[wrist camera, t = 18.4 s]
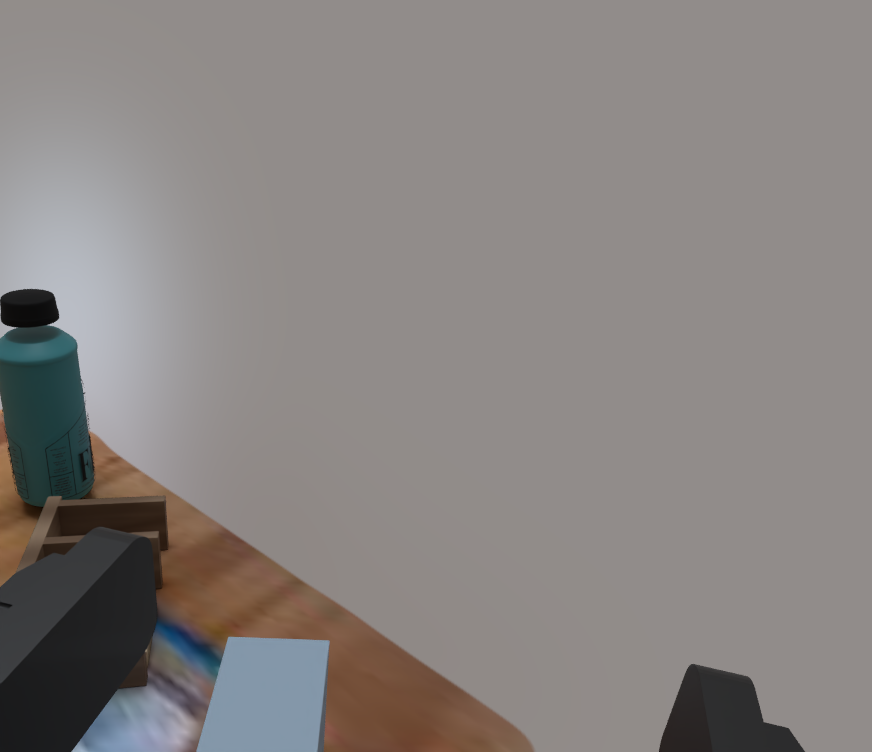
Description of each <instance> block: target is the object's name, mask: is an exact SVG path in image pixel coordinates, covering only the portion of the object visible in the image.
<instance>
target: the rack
mask: <svg viewBox="0 0 872 752" xmlns="http://www.w3.org/2000/svg"><path fill="white" fill-rule="evenodd" d="M97 527H104V528H109V529H113V530H117V531H122V532H126V533H131V534H135V535H139V536H144V537H147V538H148V539H149V540H150V542H151V544H152V550H153V563H154V576H155V589H159V588H162V582H163V581H162V567H161V554H160V550H168V530H167V515H166V500H165V496H145V497H123V498H100V499H78V500H62V496H51V497H48V498H47V501H46V503H45V505H44V508H43V510H42V512H41V515H40V517H39V519H38V522H37V524H36V526H35V529H34V531H33V533H32V536H31V538H30V540H29V543H28V545H27V547H26V550H25V552H24V554H23V557H22V559H21V561H20V564H19V566H18V568H17V571H16V572H18V571H20V570H22V569H24V568H26V567H28V566H30V565H31V564H33V563H35V562H37V561H39V560H41V559H43V558H45V557H47V556H49V555H50V554H52V553H57V554H61V555H65V554H66V553H67V552H68V551H69V550H71V549H72V548H73V547H74V546H75V545H76V544H77V543H78V542H79V541H80V540H81V539H82V538H83V537H84V536H85V535H86V534H87V533H88V532H90V531H91V530H92V529H94V528H97ZM147 677H148V674H147V663H146V652H144V654H143V655H142V657H141V658H140V660H139V661H138V662H137V664H136V665H135V666H134V668H133V669H132V670H131V672H130V673H129V674H128V676H127V677H126V679H125V680H124V681H123V683H122V684H121V685H120V687H119V688H127V687H136V686H146V684H147Z"/></svg>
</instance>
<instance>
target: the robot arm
mask: <svg viewBox="0 0 872 752" xmlns="http://www.w3.org/2000/svg"><path fill="white" fill-rule="evenodd" d="M156 621H157V602H156V589H155V576H154V563H153V550H152V544H151V542H150V540H149V539H148V538H147V537H144V536H139V535H135V534H131V533H126V532H122V531H117V530H113V529H109V528H104V527H97V528H94V529H92V530H91V531H90V532H88V533H87V534H86V535H85V536H84V537H83V538H82V539H81V540H80V541H79V542H78V543H77V544H76V545H75V546H74V547H73V548H72V549H71V550H69V551H68V552H67V553H66V554H65V555H61V554H57V553H52V554H50V555H49V556H47V557H45V558H43V559H41V560H39V561H37V562H35V563H33V564H31V565H30V566H28V567H26V568H24V569H22V570H20V571H18V572H16V573H15V574H14V575H13V576H12V577H11V578H10V579H9V580H8V581H6V582H5V583H4V584H3V585H2V586H1V587H0V752H71V751H72V750H73V749H74V747H75V746H76V745H77V743H78V742H79V741H80V739H81V738H82V737H83V735H84V734H85V733H86V731H87V730H88V729H89V727H90V726H91V724H92V723H93V722H94V720H95V719H96V718H97V716H98V715H99V714H100V712H101V711H102V710H103V708H104V707H105V706H106V704H107V703H108V701H109V700H110V699H111V697H112V696H113V695H114V693H115V692H116V691H117V689H118V688H119V687H120V685H121V684H122V683H123V681H124V680H125V679H126V677H127V676H128V674H129V673H130V672H131V670H132V669H133V668H134V666H135V665H136V664H137V662H138V661H139V660H140V658H141V657H142V655H143V654H144V652H145V651H146V649H147V647H148V645H149V643H150V641H151V638H152V636H153V633H154V630H155V626H156ZM659 752H805V751H804V750H803V748H802V747H801V746H800V744H799V743H798V741H797V740H796V739H795V737H794V736H793V734H792V733H791V731H790V730H789V728H785V727H781V726H777V725H773V724H769V723H764V722H763V718H762V714H761V710H760V706H759V703H758V699H757V695H756V691H755V687H754V685H753V682H752V680H751V679H750V678H749V677H747V676H743V675H739V674H735V673H730V672H726V671H721V670H717V669H712V668H708V667H704V666H700V665H695V664H691V665H690V666H689V667H688V669H687V671H686V673H685V676H684V679H683V681H682V684H681V687H680V689H679V692H678V695H677V698H676V700H675V703H674V706H673V709H672V712H671V714H670V717H669V720H668V723H667V725H666V728H665V730H664V733H663V736H662V740H661V744H660V749H659Z"/></svg>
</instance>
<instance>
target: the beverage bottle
mask: <svg viewBox="0 0 872 752" xmlns="http://www.w3.org/2000/svg"><path fill="white" fill-rule="evenodd" d="M0 305H1V321H2V323H3V324H5V325H7V326H11V327H18V328H16V329H13V330H11V331H9V332H7V333H6V334H5V335H4V336H3V337H2V338H0V396H1V401H2V407H3V410H2V412H3V413H4V422H5V426H3V427H5V428H6V431H5V432H6V433H7V438H8V443H9V447H8V449H9V451H8V452H10V456H9V457H11V461H10V463H11V462H12V467H11V468H13V469H12V470H13V472H12V473H13V475H15V478H14V477H13V478H14V479H15V480H16V482H14V484H16V486H17V491H18V495H20V497H21V498H22V500H23V501H25V502H26V503H28V504H31V505H34V506H40V507H44V505H45V503H46V501H47V498H48V497H51V496H62V500H78V499H80V498H82V497H83V496H85V495H86V494H87V493H88V492H89V491H90V490H91V489H92V486H93V482H94V481H95V480H94V476H95V474H94V473H93V472H94V468H95V466H93V463H94V462H93V461H94V459H93V458H92V455H93V453H92V451H91V448H92V447H91V440H90V438H91V437H90V434H89V433H88V426H87V419H86V411H85V403H84V395H83V394H84V393H83V388H82V383H81V376H80V369H79V361H78V354H77V342H76V340H75V339H74V338H73V337H72V336H70V335H69V334H67V333H66V332H64V331H63V330H60V329H59V328H56V327H54V326H48V324H51V323H54V322H55V321H57V320H58V319H59V312H58V309H57V305H56V301H55V297H54V294H53V293H51V292H49V291H45V290H39V289H23V290H16V291H12V292H9V293H6V294H4V295H3V296H2V297H1V299H0ZM4 430H5V429H4ZM5 436H6V435H5ZM6 441H7V439H6ZM7 446H8V445H7ZM8 455H9V454H8ZM13 475H12V476H13ZM95 478H96V477H95ZM15 489H16V488H15ZM15 491H16V490H15Z"/></svg>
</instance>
